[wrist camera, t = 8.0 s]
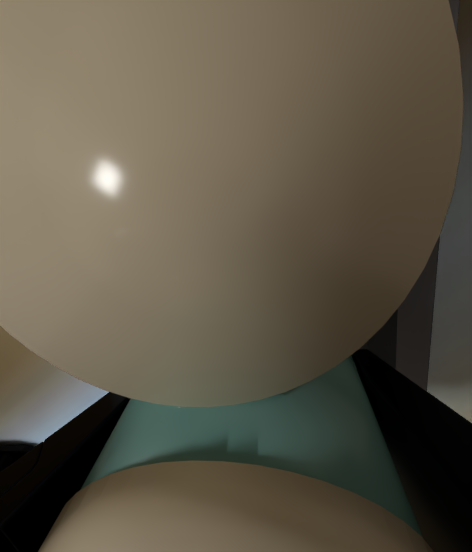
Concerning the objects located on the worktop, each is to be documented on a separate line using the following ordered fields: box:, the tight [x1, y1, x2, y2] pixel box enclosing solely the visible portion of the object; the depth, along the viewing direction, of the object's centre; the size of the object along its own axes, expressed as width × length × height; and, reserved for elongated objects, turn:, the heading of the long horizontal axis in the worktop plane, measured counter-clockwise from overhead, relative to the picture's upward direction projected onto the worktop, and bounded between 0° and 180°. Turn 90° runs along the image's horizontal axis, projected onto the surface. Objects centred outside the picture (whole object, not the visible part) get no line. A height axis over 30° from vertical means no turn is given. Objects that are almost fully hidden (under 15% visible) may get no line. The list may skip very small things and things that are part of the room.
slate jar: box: [0, 0, 464, 407], centre depth 7 cm, size 6×6×8 cm
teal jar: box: [38, 355, 434, 552], centre depth 7 cm, size 6×6×8 cm
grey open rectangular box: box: [360, 0, 460, 391], centre depth 8 cm, size 23×11×6 cm, turn 10°
